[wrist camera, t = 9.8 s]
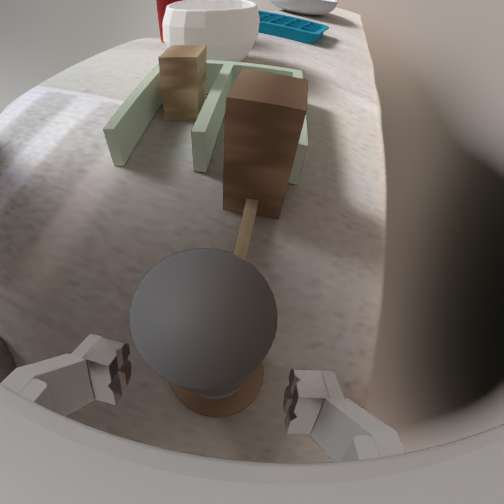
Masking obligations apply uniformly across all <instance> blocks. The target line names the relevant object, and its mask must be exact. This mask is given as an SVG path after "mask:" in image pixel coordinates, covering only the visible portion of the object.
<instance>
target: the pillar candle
mask: <svg viewBox="0 0 504 504" xmlns="http://www.w3.org/2000/svg"><path fill="white" fill-rule="evenodd" d="M15 369H16V367H15V363H14V361H13V358H12V356H11V354H10V352H9V350H8V348H7V347H6V345H5V343H4V342H3V341H2V339H1V338H0V383H1V382H2V381H3V380H4V379H5V378H6V377H7V376H8V375H10V374H11V373H12V372H13V371H14V370H15Z"/></svg>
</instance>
